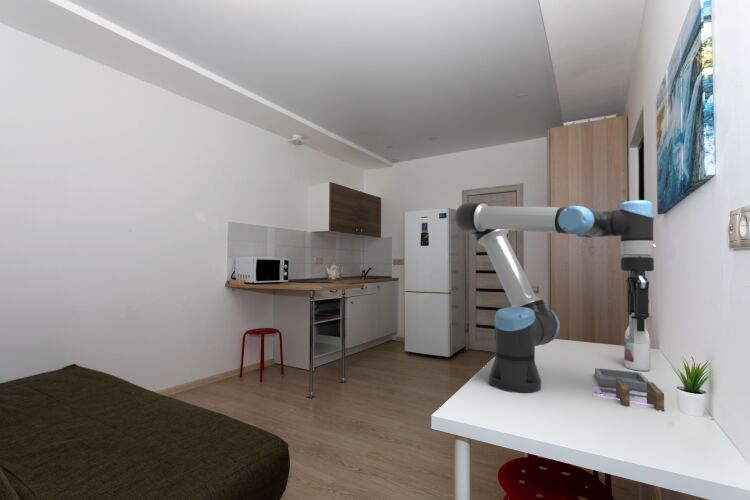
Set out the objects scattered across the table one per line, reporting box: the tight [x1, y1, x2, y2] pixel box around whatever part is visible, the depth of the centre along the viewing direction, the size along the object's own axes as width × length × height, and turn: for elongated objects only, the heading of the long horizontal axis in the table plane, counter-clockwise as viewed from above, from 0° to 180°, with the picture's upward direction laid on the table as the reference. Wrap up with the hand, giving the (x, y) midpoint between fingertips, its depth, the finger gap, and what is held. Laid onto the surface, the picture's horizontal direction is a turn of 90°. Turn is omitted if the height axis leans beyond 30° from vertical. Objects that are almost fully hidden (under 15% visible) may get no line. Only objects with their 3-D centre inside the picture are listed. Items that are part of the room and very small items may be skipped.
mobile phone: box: [590, 386, 654, 407], centre depth 107 cm, size 8×1×15 cm
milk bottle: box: [623, 325, 651, 372], centre depth 137 cm, size 8×8×20 cm
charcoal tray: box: [594, 367, 650, 393], centre depth 119 cm, size 13×13×2 cm
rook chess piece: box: [627, 313, 647, 344], centre depth 104 cm, size 4×4×8 cm
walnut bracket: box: [615, 378, 665, 412], centre depth 103 cm, size 9×10×4 cm
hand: (637, 341), depth 104 cm, fingers closed on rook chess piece, 4 cm apart
